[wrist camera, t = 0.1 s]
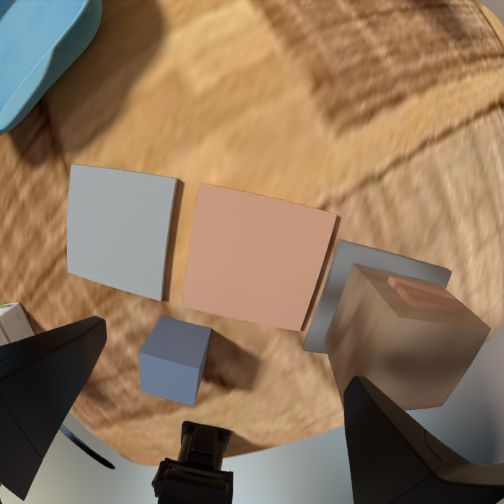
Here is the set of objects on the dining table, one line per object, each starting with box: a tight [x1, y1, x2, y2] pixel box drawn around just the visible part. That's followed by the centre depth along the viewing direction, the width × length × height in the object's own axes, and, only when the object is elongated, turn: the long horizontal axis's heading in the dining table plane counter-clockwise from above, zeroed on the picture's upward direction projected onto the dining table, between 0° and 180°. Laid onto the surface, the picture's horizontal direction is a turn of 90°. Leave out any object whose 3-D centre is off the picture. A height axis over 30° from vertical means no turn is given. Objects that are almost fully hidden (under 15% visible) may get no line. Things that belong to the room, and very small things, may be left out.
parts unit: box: [303, 239, 491, 410], centre depth 19 cm, size 11×13×10 cm
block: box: [139, 316, 211, 406], centre depth 23 cm, size 5×5×6 cm
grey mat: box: [67, 164, 178, 301], centre depth 22 cm, size 11×11×1 cm
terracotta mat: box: [181, 183, 337, 331], centre depth 23 cm, size 11×11×1 cm
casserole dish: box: [0, 0, 102, 136], centre depth 11 cm, size 37×22×7 cm, turn 31°
